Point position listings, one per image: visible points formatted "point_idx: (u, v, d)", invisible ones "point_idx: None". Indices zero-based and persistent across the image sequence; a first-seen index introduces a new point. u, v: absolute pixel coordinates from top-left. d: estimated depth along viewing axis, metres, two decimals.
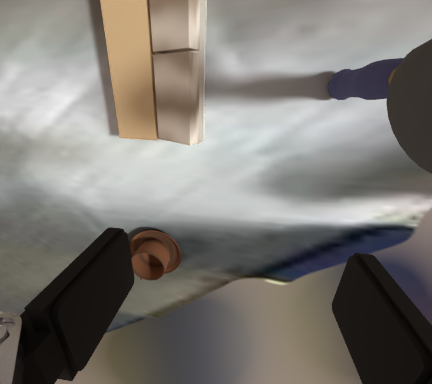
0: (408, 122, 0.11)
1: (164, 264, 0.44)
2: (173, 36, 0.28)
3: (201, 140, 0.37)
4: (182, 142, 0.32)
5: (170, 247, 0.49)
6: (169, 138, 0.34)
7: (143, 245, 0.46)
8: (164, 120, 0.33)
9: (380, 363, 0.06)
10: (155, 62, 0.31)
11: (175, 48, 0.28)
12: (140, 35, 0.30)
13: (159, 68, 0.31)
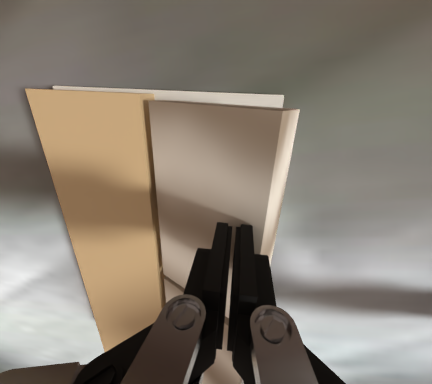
0: None
1: None
2: None
3: None
4: None
5: None
6: None
7: None
8: None
9: (230, 305, 0.08)
10: (169, 290, 0.16)
11: None
12: (139, 250, 0.15)
13: None
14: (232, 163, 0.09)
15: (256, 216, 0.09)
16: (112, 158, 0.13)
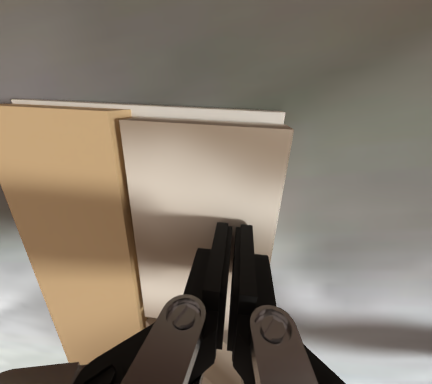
0: None
1: None
2: None
3: None
4: None
5: None
6: None
7: None
8: None
9: (230, 305, 0.08)
10: None
11: None
12: (116, 289, 0.13)
13: None
14: (240, 180, 0.09)
15: (266, 226, 0.10)
16: (79, 186, 0.10)
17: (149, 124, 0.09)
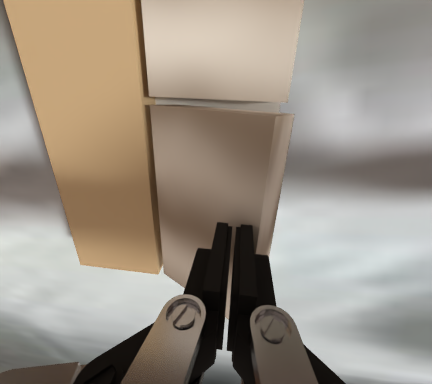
0: None
1: None
2: (234, 68, 0.10)
3: None
4: None
5: None
6: None
7: None
8: (178, 251, 0.14)
9: (230, 305, 0.08)
10: (157, 124, 0.11)
11: (236, 98, 0.11)
12: (113, 52, 0.11)
13: (167, 141, 0.11)
14: None
15: None
16: None
17: None
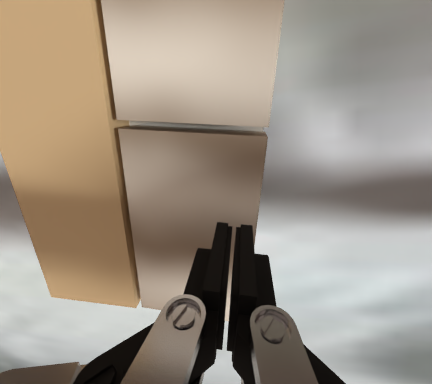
0: None
1: None
2: (208, 90, 0.09)
3: None
4: None
5: None
6: None
7: None
8: (162, 276, 0.13)
9: (230, 305, 0.08)
10: (130, 149, 0.11)
11: (212, 122, 0.10)
12: (76, 73, 0.10)
13: (145, 166, 0.11)
14: None
15: None
16: None
17: None
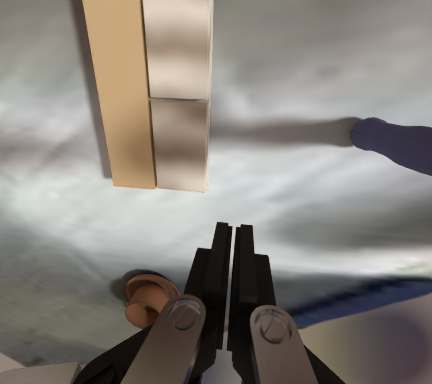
0: None
1: None
2: (184, 86, 0.25)
3: None
4: (193, 190, 0.31)
5: (169, 290, 0.45)
6: (174, 187, 0.31)
7: (139, 291, 0.41)
8: (167, 169, 0.30)
9: (230, 305, 0.08)
10: (155, 109, 0.27)
11: (186, 98, 0.26)
12: (136, 79, 0.26)
13: (160, 116, 0.27)
14: None
15: (203, 22, 0.23)
16: (121, 10, 0.23)
17: None
